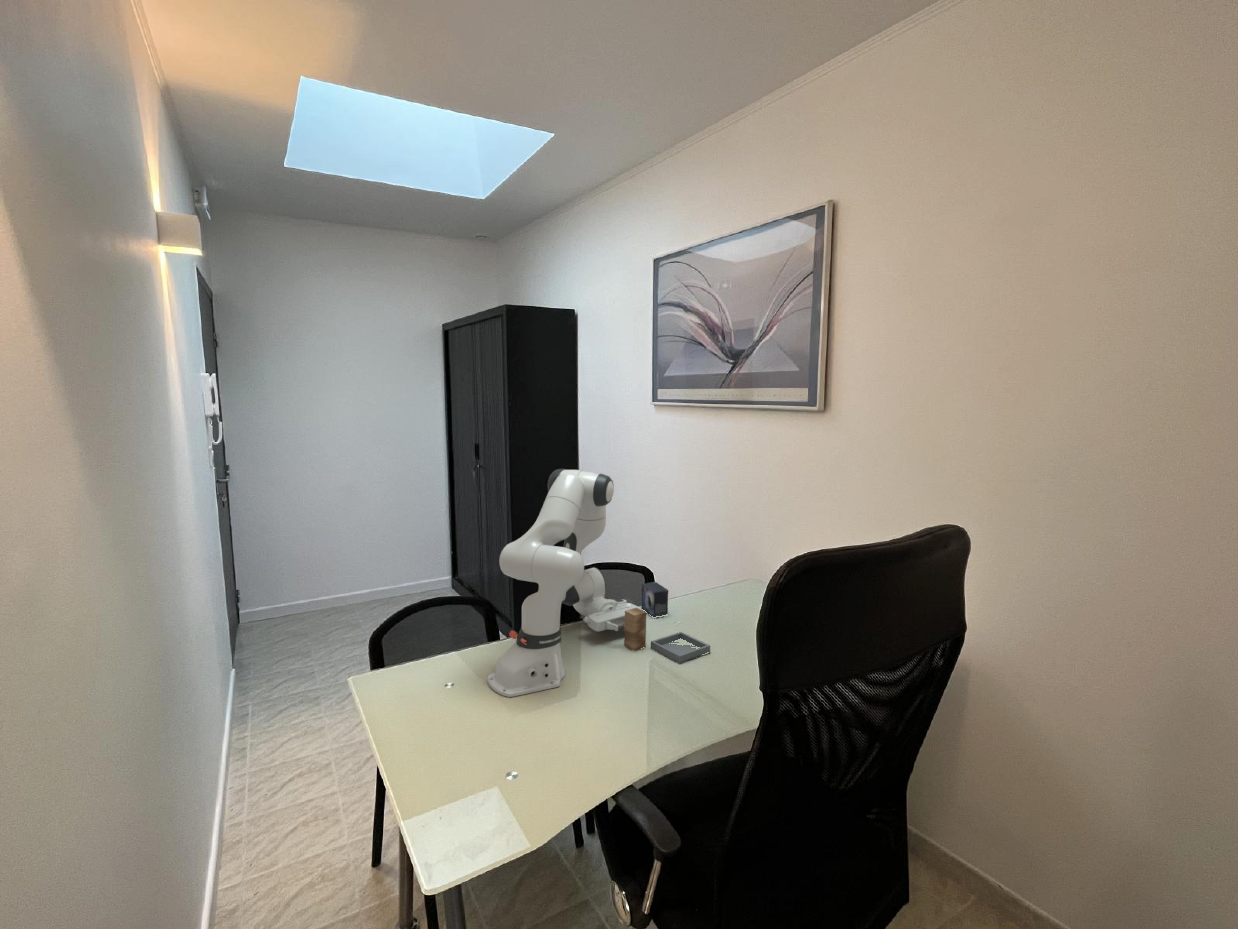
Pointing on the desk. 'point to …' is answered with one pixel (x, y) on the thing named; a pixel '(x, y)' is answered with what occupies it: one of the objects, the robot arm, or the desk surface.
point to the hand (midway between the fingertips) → (630, 625)
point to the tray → (679, 647)
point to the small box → (654, 599)
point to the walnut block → (635, 629)
